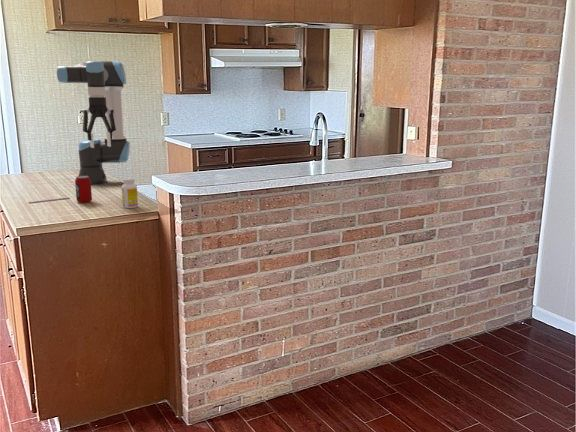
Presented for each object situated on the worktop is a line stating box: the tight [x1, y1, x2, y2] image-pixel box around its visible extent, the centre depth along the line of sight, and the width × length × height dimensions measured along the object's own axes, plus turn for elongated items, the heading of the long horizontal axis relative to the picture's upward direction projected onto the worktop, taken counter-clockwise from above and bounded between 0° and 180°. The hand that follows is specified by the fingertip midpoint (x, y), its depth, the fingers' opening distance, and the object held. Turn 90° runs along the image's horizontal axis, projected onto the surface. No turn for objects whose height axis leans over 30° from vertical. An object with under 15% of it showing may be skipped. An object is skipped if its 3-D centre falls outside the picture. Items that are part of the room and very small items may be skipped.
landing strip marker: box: [28, 197, 70, 204], centre depth 259 cm, size 18×2×1 cm, turn 127°
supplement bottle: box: [121, 177, 139, 209], centre depth 247 cm, size 7×7×13 cm
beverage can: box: [74, 175, 93, 204], centre depth 256 cm, size 7×7×12 cm
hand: (100, 146), depth 257 cm, fingers open, 7 cm apart
